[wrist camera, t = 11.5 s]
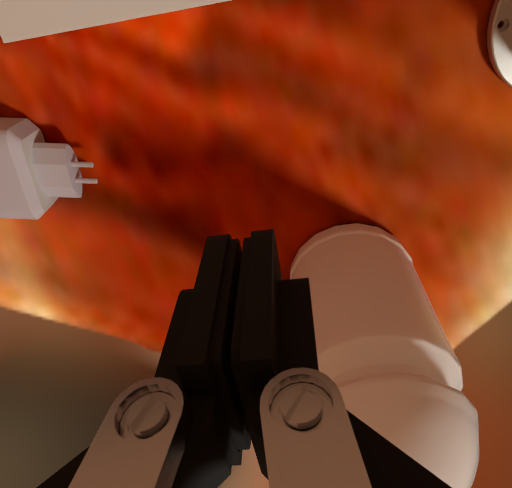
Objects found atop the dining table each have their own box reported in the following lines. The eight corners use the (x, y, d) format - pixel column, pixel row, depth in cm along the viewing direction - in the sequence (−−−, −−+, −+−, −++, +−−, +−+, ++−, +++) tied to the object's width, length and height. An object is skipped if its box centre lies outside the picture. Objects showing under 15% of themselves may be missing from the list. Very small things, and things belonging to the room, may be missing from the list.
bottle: (394, 315, 51) (492, 602, 28) (286, 311, 51) (294, 591, 28) (421, 221, 43) (591, 517, 20) (292, 217, 43) (311, 503, 20)
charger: (112, 202, 43) (-23, 197, 44) (94, 117, 38) (-59, 112, 38) (96, 225, 39) (-52, 219, 40) (74, 134, 34) (-97, 128, 34)
